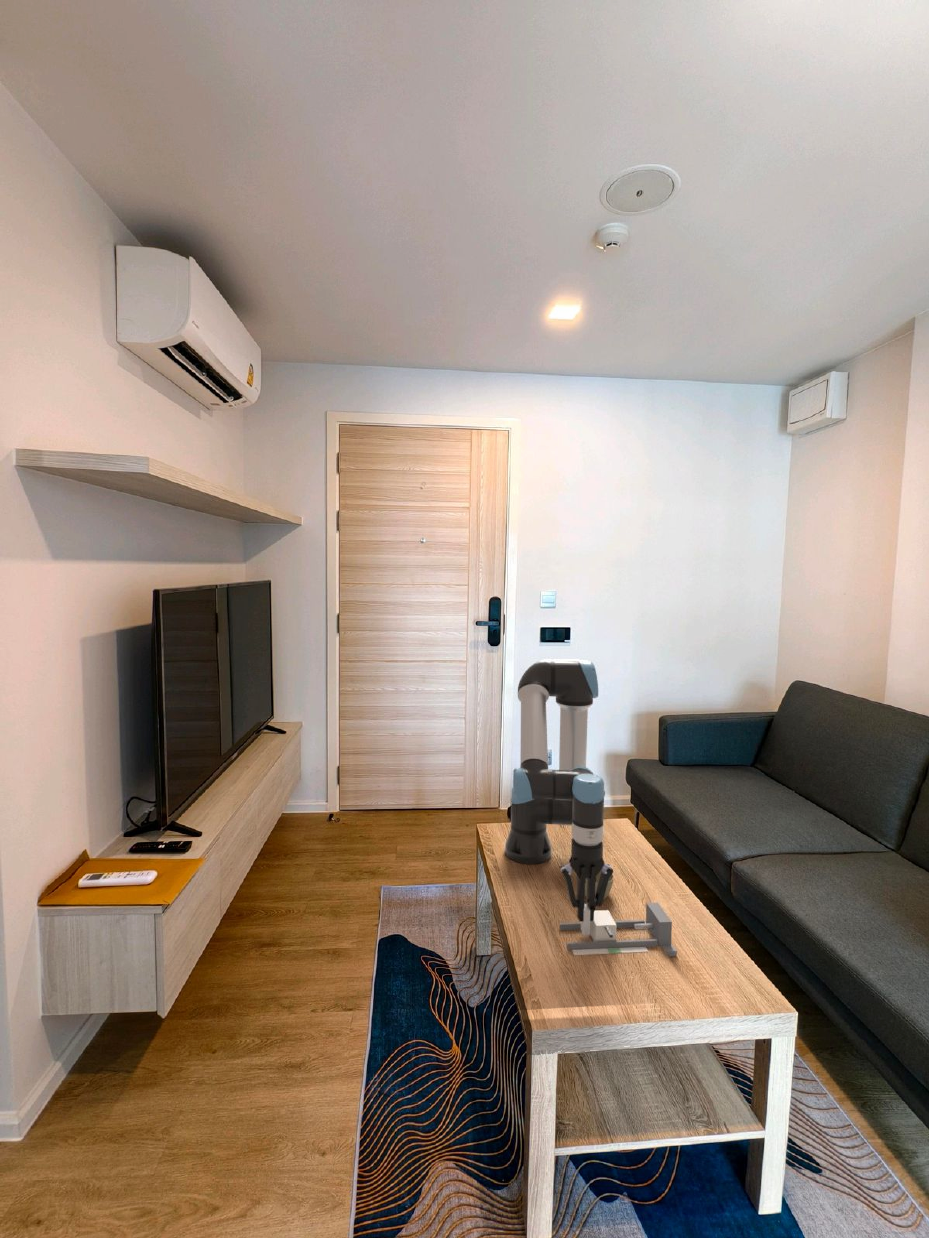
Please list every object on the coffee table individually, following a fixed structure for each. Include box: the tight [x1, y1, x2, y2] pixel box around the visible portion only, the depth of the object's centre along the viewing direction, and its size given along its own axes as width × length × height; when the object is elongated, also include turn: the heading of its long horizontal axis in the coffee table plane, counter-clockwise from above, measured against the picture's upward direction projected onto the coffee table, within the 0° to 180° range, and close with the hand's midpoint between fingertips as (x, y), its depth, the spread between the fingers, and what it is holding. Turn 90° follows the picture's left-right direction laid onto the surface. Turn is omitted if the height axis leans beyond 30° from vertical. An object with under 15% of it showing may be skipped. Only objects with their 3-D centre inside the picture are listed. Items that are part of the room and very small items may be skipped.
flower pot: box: [585, 869, 615, 901], centre depth 154 cm, size 10×10×7 cm
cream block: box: [590, 909, 618, 942], centre depth 133 cm, size 10×5×5 cm, turn 4°
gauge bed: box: [558, 902, 678, 957], centre depth 135 cm, size 12×28×7 cm, turn 94°
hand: (585, 932), depth 135 cm, fingers closed
